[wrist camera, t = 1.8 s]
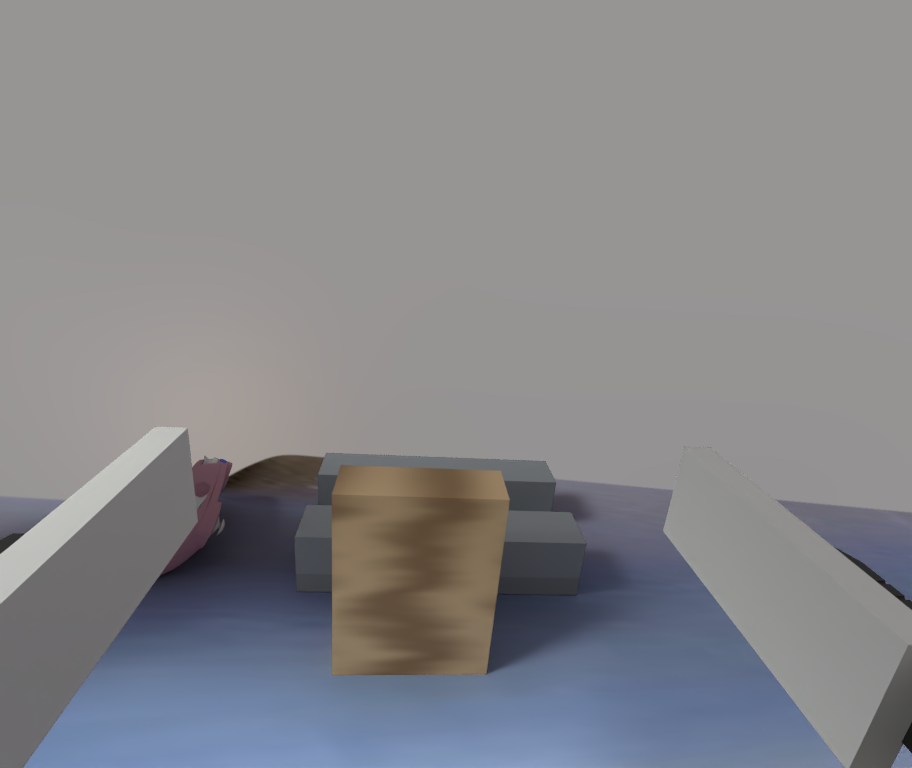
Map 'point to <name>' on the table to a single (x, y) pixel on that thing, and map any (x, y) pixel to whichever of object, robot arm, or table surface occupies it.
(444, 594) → the oak plank
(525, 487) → the grooved sill
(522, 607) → the table surface
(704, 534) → the robot arm
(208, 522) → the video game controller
